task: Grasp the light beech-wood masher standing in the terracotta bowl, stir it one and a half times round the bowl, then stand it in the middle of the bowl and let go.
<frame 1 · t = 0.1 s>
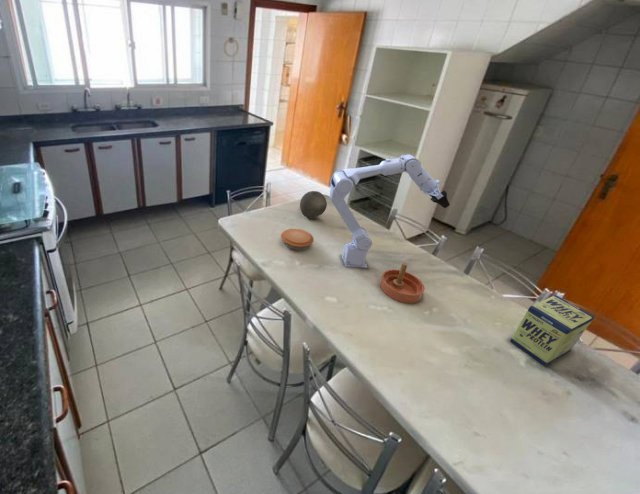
hand: (442, 202, 130), 32 cm above the table, tool tilted 50°, fingers open, 7 cm apart
pie: (296, 243, 157), on the table
bowl: (399, 290, 130), on the table
protein box: (539, 346, 108), on the table
masher: (397, 285, 132), point 1 cm above the table, touching bowl
grey stone ball: (311, 217, 181), on the table
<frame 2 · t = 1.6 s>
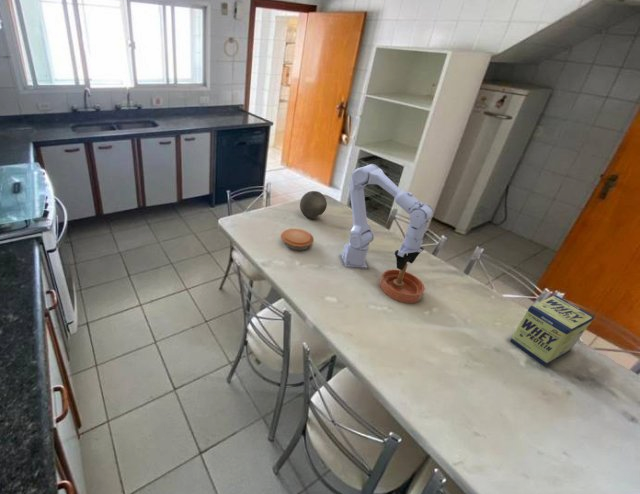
hand: (404, 265, 127), 10 cm above the table, tool pointing down, fingers open, 7 cm apart
nothing on the table moved.
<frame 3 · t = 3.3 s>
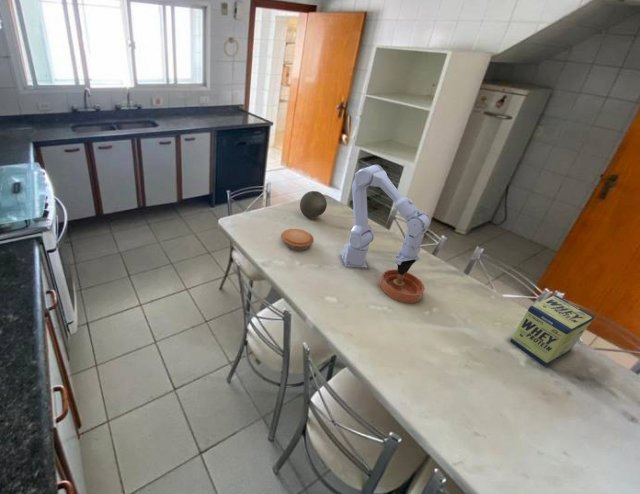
hand: (402, 272, 129), 7 cm above the table, tool pointing down, fingers closed on masher, 2 cm apart
masher: (397, 285, 132), point 1 cm above the table, touching bowl, gripper
everything else where it was.
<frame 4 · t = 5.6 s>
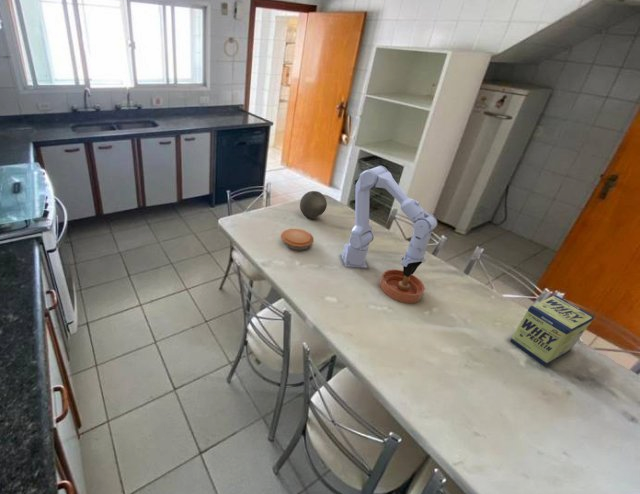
hand: (407, 274, 127), 7 cm above the table, tool pointing down, fingers closed on masher, 2 cm apart
masher: (403, 287, 130), point 1 cm above the table, touching gripper
everything else where it was.
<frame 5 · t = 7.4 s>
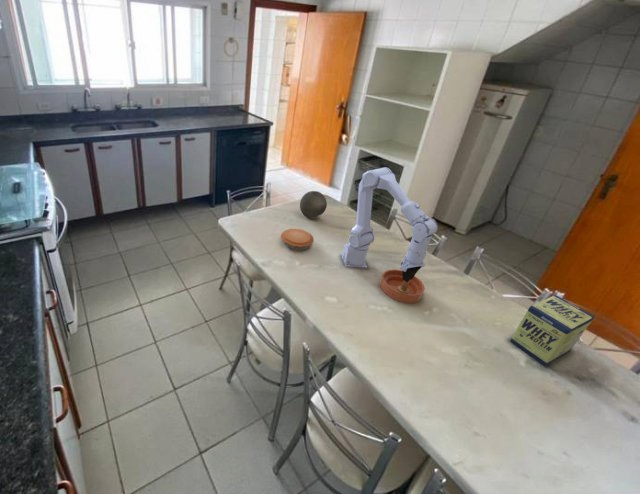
hand: (407, 279, 125), 7 cm above the table, tool pointing down, fingers closed on masher, 2 cm apart
masher: (402, 292, 127), point 1 cm above the table, touching gripper
everything else where it was.
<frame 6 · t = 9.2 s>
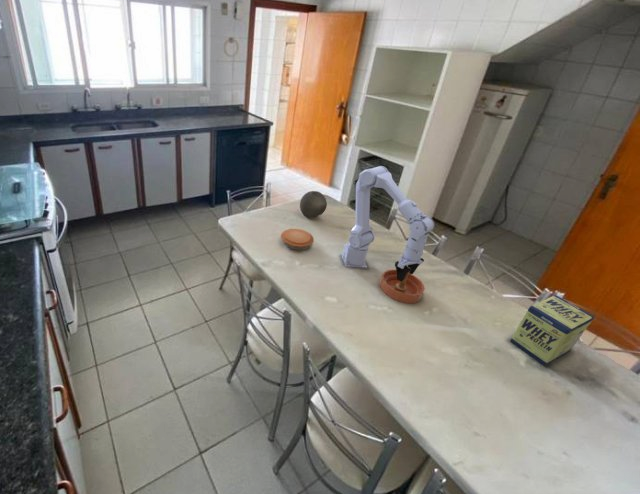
hand: (404, 276, 127), 7 cm above the table, tool pointing down, fingers open, 7 cm apart
masher: (400, 289, 129), point 1 cm above the table, touching bowl
everything else where it was.
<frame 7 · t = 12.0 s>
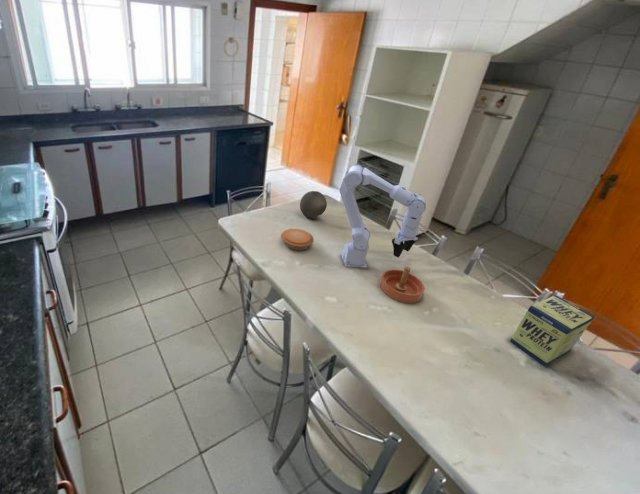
hand: (401, 253, 135), 10 cm above the table, tool pointing down, fingers open, 7 cm apart
nothing on the table moved.
at the end: masher 0.0 cm off-centre in the bowl, point 0.6 cm above the bowl's base; masher tilted 0°; masher moved 2.5 cm from its start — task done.
